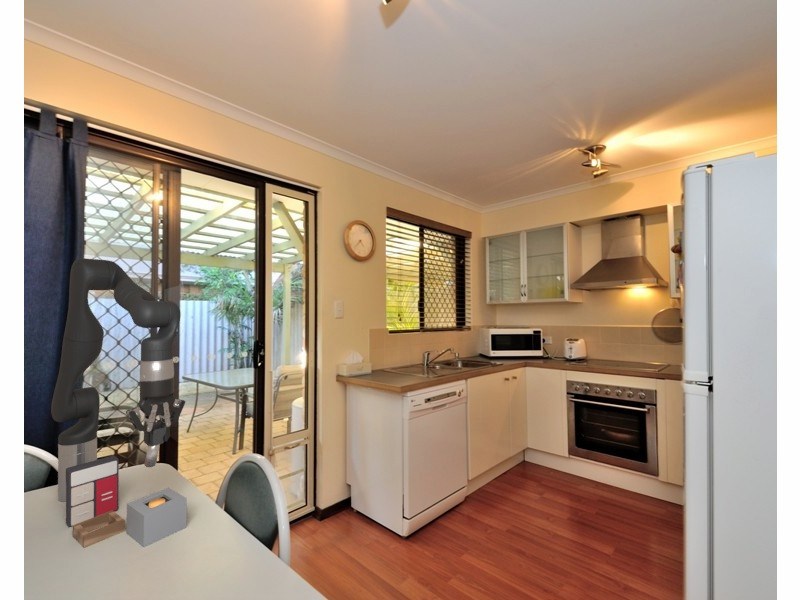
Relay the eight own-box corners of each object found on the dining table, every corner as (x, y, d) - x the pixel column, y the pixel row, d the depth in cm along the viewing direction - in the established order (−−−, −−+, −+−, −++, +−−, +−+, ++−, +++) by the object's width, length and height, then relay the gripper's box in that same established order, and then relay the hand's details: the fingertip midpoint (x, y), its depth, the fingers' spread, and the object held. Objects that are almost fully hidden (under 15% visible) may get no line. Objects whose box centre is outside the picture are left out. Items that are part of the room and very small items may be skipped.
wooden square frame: (72, 537, 95) (72, 525, 95) (112, 521, 102) (112, 510, 102) (84, 549, 90) (84, 537, 90) (124, 531, 97) (124, 520, 97)
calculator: (68, 529, 98) (69, 472, 98) (65, 523, 101) (65, 468, 101) (119, 511, 107) (119, 458, 107) (114, 505, 109) (115, 454, 109)
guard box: (126, 534, 96) (126, 503, 96) (168, 516, 104) (168, 487, 104) (143, 549, 90) (143, 515, 90) (186, 528, 98) (186, 497, 98)
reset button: (146, 522, 97) (146, 502, 97) (161, 515, 100) (161, 496, 100) (152, 526, 95) (152, 507, 95) (167, 519, 98) (167, 500, 98)
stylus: (141, 462, 99) (149, 423, 97) (154, 458, 101) (161, 420, 99) (146, 469, 97) (153, 430, 95) (158, 465, 100) (166, 426, 97)
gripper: (178, 371, 105) (178, 432, 105) (119, 379, 94) (119, 448, 93) (191, 374, 101) (191, 437, 101) (132, 383, 89) (131, 455, 89)
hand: (156, 442), depth 97 cm, fingers closed on stylus, 3 cm apart
